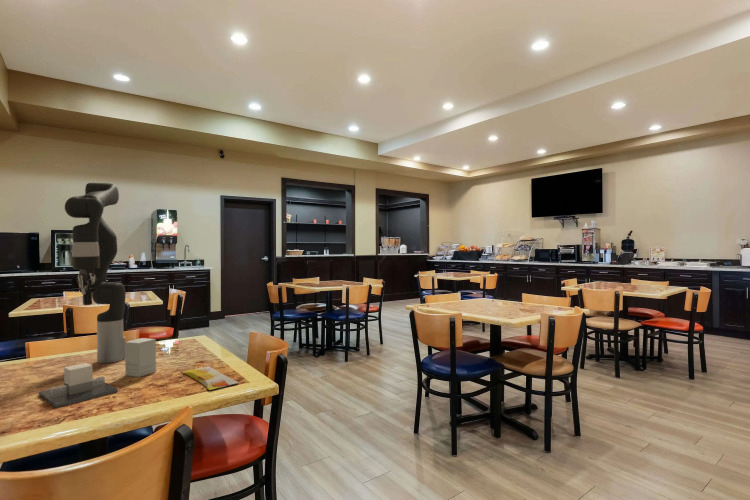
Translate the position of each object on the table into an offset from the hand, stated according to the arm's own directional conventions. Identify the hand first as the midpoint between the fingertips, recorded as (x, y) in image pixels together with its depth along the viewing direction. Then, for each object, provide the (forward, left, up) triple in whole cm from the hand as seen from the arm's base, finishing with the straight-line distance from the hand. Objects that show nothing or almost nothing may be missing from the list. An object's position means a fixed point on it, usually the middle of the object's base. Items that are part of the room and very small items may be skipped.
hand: (87, 304), depth 133 cm
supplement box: (-16, +2, -28) cm, 33 cm away
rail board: (+5, +8, -28) cm, 29 cm away
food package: (-28, +29, -29) cm, 49 cm away
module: (+5, +8, -27) cm, 28 cm away
